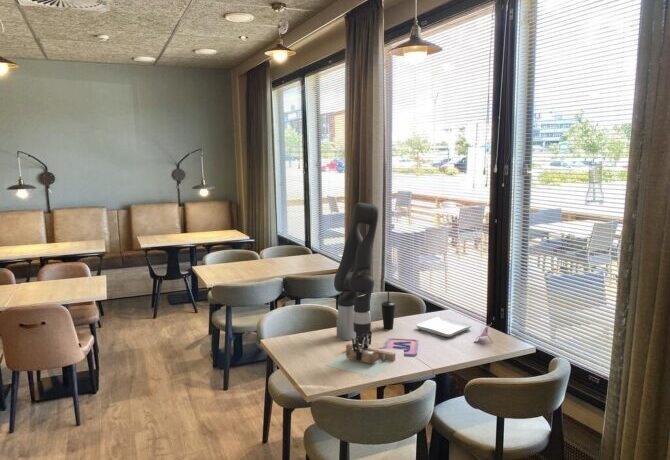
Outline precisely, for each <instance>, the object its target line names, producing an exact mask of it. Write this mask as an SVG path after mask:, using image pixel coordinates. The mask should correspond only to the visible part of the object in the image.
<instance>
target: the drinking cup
mask: <svg viewBox="0 0 670 460" xmlns="http://www.w3.org/2000/svg"><path fill="white" fill-rule="evenodd" d="M396 304H397V303H396V302H395V301H392V300H390V291H387V300H384V301H382V302H380V305H381V312H382V324H383V329H384V330H385V331H386V330H387V331H391V330H393V329H394V320H395V310H396Z"/></svg>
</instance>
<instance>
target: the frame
mask: <svg viewBox="0 0 670 460" xmlns="http://www.w3.org/2000/svg"><path fill="white" fill-rule="evenodd" d="M363 347H364V346H363ZM363 347H362V351H361V360H360V361H362V362H367V363H371V364H373V363H374V362H376V361H377V360H378V350H379V349H376V350H373V349H374V348H371V349H368V348H369V347H368V348H363ZM355 349H356V348H355ZM359 349H360V347H359ZM345 352H346V358H349V359H354V360H357V359H356V352H354V351H353V345H352V346H350V347H349V348H347V349H346V350H345ZM358 361H359V360H358Z"/></svg>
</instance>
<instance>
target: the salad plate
mask: <svg viewBox="0 0 670 460" xmlns="http://www.w3.org/2000/svg"><path fill="white" fill-rule="evenodd" d="M415 326H416V327H417V328H418V329H420V330H422V331H425V332H427V333H430V334H435V335H438V336H441V337H444V338H445V337H446V338H450V337H452V336H455V335H457V334H460V333H461V332H465V331H467V330H469V329H470V328H472V326H473V324H469V323H467V322H464V321H463V322H462V321H460V320H456V319H451V318H448V317H443V316H440V315H439V316H436V317H433V318H431V319H427V320H424V321H422V322H419V323H417V324H416V325H415Z"/></svg>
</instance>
